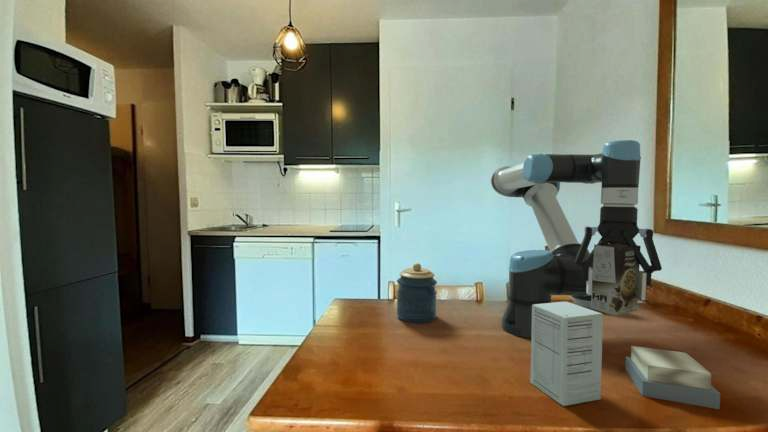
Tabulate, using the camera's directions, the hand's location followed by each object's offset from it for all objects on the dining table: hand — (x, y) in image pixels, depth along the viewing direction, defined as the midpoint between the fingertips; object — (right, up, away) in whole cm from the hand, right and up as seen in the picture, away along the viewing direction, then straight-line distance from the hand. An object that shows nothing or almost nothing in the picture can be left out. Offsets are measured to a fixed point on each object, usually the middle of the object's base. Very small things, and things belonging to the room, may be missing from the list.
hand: (614, 296), depth 86 cm
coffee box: (0, -4, 0) cm, 4 cm away
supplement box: (-20, -16, -15) cm, 30 cm away
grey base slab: (+2, -16, -13) cm, 21 cm away
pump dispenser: (+17, -14, +42) cm, 47 cm away
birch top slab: (+2, -13, -14) cm, 19 cm away
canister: (-46, -14, +29) cm, 56 cm away
